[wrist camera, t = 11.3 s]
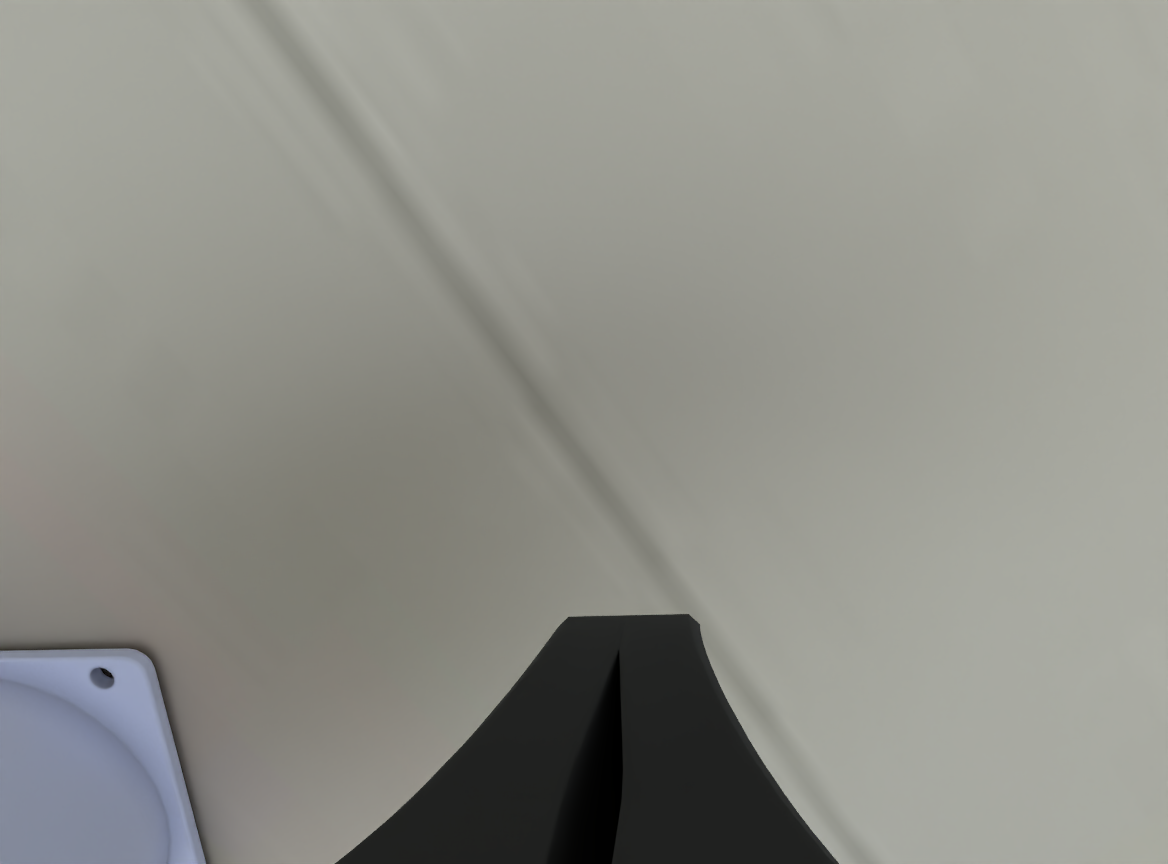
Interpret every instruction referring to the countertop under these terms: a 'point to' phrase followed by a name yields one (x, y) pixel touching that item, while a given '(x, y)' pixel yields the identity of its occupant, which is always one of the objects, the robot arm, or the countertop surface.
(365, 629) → the countertop surface
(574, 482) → the countertop surface
